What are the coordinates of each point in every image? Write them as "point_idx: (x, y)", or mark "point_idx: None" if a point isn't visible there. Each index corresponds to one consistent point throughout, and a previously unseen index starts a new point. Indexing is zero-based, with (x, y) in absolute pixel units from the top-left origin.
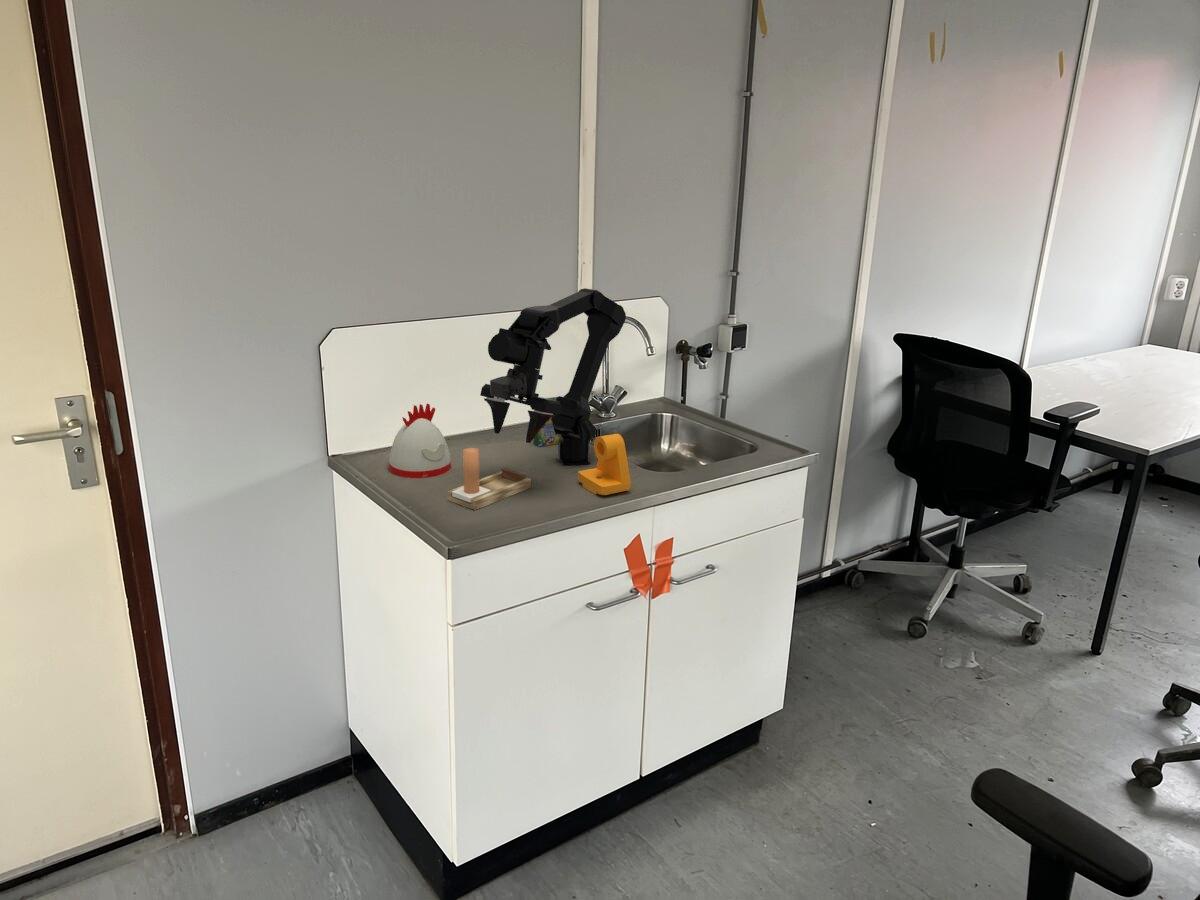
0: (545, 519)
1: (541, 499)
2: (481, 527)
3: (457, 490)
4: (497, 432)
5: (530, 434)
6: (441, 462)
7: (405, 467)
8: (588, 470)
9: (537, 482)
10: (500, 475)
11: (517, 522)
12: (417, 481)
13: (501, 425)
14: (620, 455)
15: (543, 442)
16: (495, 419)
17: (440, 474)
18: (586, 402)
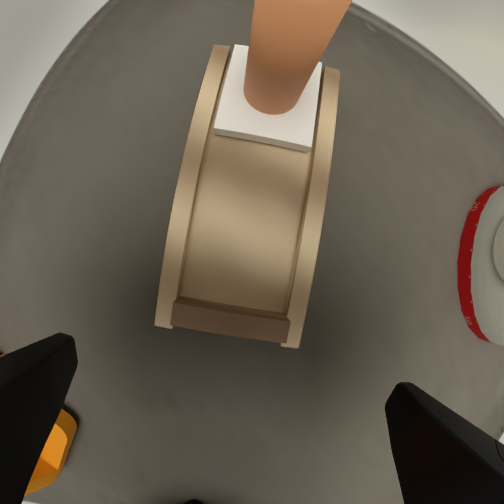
0: (24, 130)
1: (80, 243)
2: (145, 8)
3: (314, 75)
4: (394, 398)
5: (4, 359)
6: (483, 257)
7: None
8: (56, 450)
9: (171, 369)
10: (287, 307)
11: (75, 71)
12: (468, 173)
13: (400, 457)
14: None
15: None
16: (466, 439)
17: (459, 248)
18: None
